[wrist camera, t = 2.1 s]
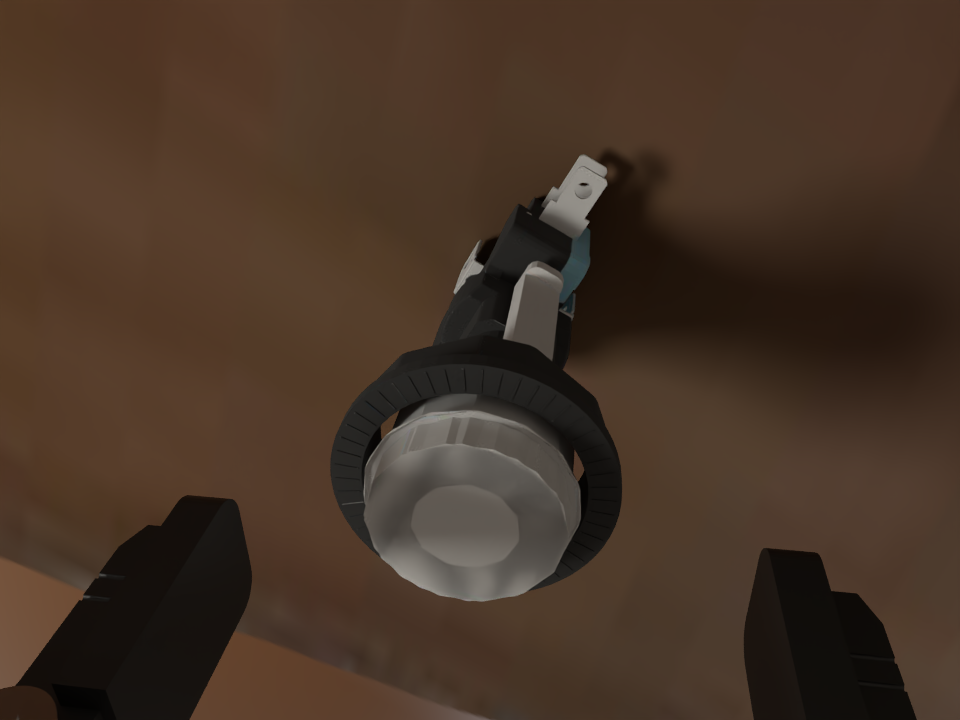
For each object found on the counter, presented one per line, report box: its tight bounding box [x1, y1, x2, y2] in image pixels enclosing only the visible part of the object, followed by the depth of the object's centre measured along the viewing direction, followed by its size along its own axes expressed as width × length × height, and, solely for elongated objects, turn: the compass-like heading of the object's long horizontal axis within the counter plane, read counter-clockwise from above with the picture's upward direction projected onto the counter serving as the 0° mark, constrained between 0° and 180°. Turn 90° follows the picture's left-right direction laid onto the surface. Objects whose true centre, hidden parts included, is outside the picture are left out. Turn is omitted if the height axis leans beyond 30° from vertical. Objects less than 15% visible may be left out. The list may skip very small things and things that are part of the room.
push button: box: [331, 154, 622, 601], centre depth 18 cm, size 7×5×10 cm
